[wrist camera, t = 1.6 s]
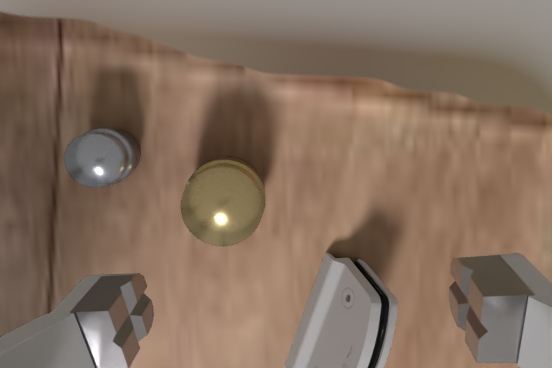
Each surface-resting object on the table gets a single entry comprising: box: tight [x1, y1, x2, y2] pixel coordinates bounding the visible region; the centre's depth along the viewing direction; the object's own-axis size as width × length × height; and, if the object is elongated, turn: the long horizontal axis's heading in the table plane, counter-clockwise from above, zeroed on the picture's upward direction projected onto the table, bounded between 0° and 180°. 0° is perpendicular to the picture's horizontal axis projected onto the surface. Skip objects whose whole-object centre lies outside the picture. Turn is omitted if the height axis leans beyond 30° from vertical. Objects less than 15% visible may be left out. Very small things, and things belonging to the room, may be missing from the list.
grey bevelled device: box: [285, 252, 398, 368], centre depth 41 cm, size 17×5×10 cm, turn 163°
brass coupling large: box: [181, 157, 265, 246], centre depth 38 cm, size 8×8×7 cm
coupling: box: [64, 128, 141, 188], centre depth 37 cm, size 6×6×6 cm
